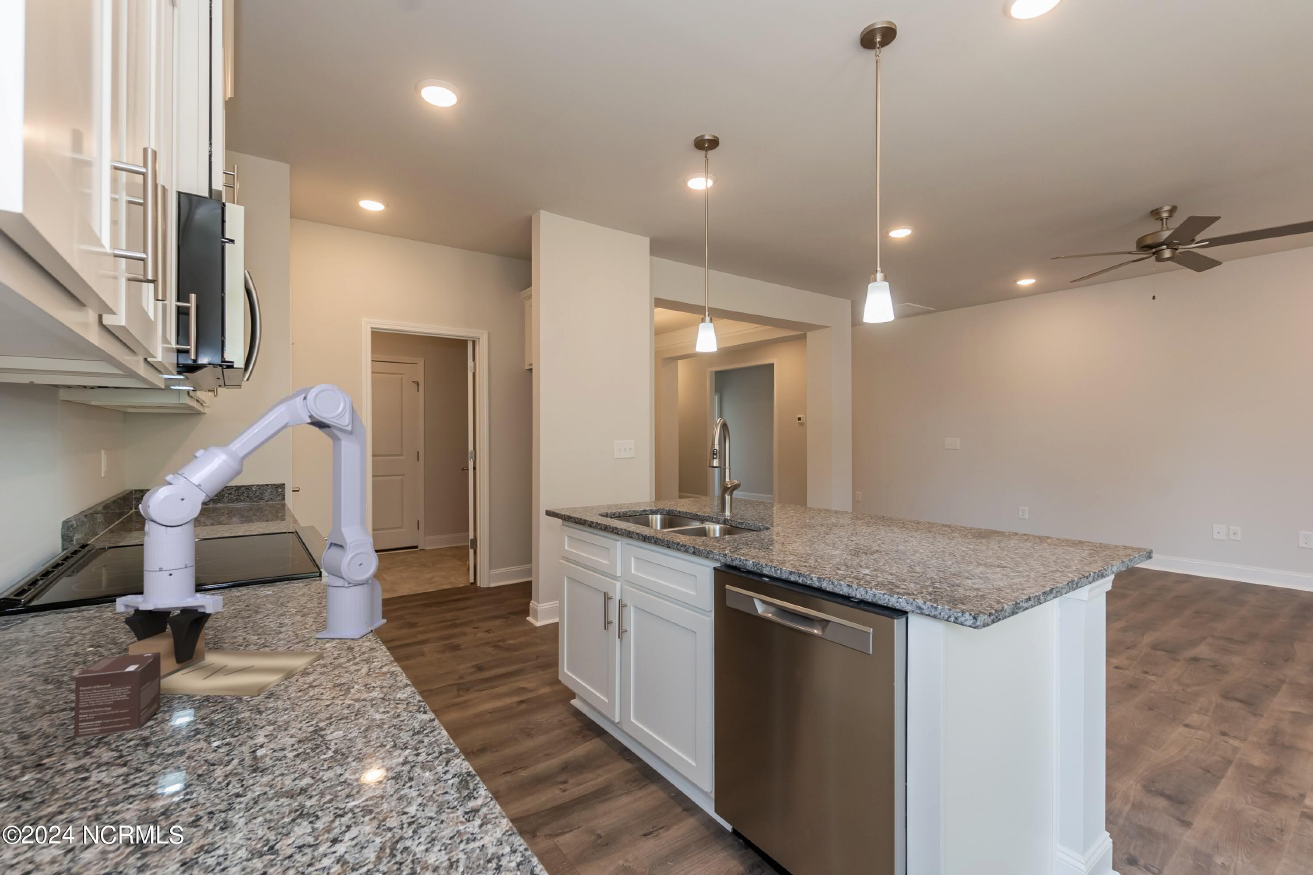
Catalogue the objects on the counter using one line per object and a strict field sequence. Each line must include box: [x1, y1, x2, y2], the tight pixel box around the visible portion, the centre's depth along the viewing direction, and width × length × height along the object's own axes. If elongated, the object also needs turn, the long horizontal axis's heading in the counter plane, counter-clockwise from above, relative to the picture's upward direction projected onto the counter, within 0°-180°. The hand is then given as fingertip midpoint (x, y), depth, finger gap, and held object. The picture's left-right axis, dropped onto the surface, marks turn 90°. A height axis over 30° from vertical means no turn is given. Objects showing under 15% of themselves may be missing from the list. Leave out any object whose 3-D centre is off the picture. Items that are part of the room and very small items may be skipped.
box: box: [73, 652, 161, 740], centre depth 70 cm, size 6×6×7 cm
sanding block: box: [128, 626, 206, 679], centre depth 84 cm, size 8×4×5 cm, turn 177°
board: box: [160, 649, 324, 697], centre depth 85 cm, size 14×24×1 cm, turn 87°
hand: (169, 660), depth 84 cm, fingers closed on sanding block, 4 cm apart
